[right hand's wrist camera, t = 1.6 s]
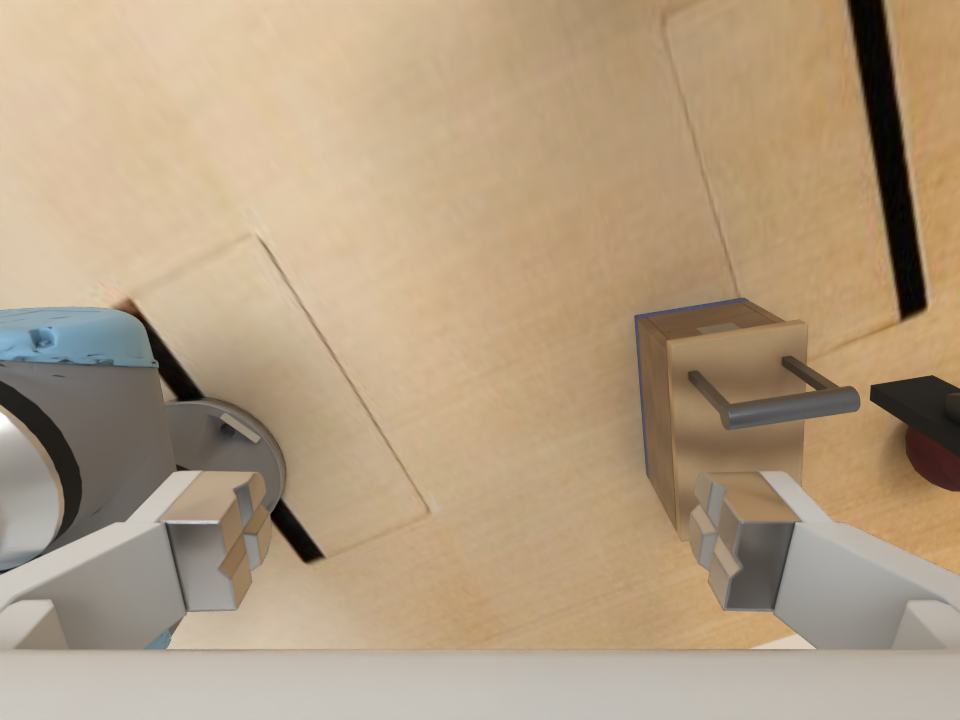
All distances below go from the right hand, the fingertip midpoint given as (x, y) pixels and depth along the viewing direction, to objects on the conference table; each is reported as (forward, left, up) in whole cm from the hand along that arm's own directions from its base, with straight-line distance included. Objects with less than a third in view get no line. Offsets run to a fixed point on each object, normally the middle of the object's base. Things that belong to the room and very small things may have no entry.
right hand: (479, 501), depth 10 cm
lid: (-1, +25, -30) cm, 39 cm away
